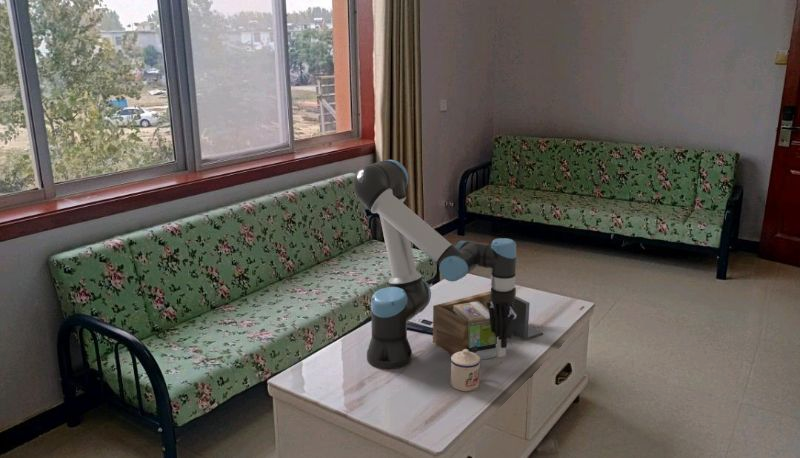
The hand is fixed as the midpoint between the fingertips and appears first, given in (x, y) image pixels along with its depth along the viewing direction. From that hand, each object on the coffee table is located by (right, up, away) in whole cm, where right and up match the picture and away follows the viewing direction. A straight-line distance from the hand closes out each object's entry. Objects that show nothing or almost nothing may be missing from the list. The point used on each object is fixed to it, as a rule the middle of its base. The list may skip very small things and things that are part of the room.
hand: (500, 355), depth 206 cm
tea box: (-7, -1, +11) cm, 13 cm away
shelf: (-1, +2, +19) cm, 19 cm away
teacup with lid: (-12, -7, -9) cm, 17 cm away
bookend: (+12, +4, +25) cm, 28 cm away
